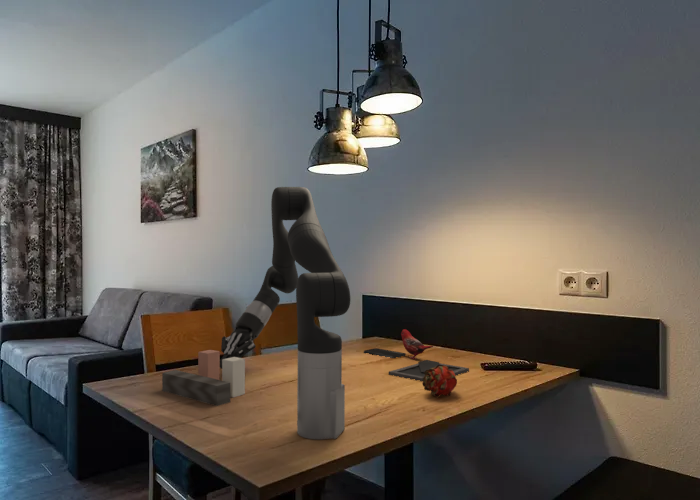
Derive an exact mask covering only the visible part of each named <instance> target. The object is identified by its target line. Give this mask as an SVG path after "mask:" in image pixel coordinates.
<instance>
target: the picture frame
mask: <svg viewBox="0 0 700 500" xmlns="http://www.w3.org/2000/svg"><path fill="white" fill-rule="evenodd" d="M436 366H447V367H448V368H449V369H451V370H452V371H454V373H455V375H457V376H459V375H458V374H460V375H462V374H461V373H463V374H464V372H465V373H468V372H470V368H469V367H465V366H464V367H463V366H457V365H453V364H445V363H441V362H439V361H433V360H431V359H424V360H421V361H418V362H417V363H416V364H411V365H407V366H404V367H400V368H397V369H393V370H389V371H388V375H389V376H393V375H394V376H393V377H397V376H399V378H402V377H404V378H403V379H407V378H410V379H409V380H412V379H415V380H414V381H417V380H420V381H419V382H422V381H423V377H424V376H425V374H424V372H425V371H426V370H429V369H430V368H434V367H436ZM467 371H468V372H467Z"/></svg>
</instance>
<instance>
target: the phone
mask: <svg viewBox="0 0 700 500" xmlns="http://www.w3.org/2000/svg"><path fill="white" fill-rule="evenodd" d="M366 353H369V354H368V355H371V354H374V356H377V355H379V356H378V357H382V356H385V357H384V358H387V357H390V358H389V359H397V358H396V357H398V358H400V357H401V356H403V357H406V356H405V355H406V354H407V353H406V352H399V351H394V350H388V349H383V348H378V347H377V348H375V347H374V348H371V349H365V350H363V354H366Z"/></svg>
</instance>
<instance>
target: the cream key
mask: <svg viewBox="0 0 700 500" xmlns="http://www.w3.org/2000/svg"><path fill="white" fill-rule="evenodd" d="M221 372H222V373H221V378H222V379H221V380H222V381H226V382H230V398H236V397H239V396H242V395H245V394H246V391H245V390H246V376H245V375H246V359H245V358H242V357H241V358H238V357H231V358H227V359H222V369H221Z"/></svg>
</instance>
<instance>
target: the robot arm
mask: <svg viewBox="0 0 700 500" xmlns="http://www.w3.org/2000/svg"><path fill="white" fill-rule="evenodd" d="M313 200H314V199H313V196H312V193H311V191H310V190H309V189H308V188H307V187H304V186H279V187H275V188H274V189H273V191H272V195H271V204H270V205H271V207H270V208H271V210H270V211H271V227H272V229H271V231H272V241H273V242H272V243H273V245H272V246H273V247H272V258H271V263H272V264H271V266H270V267H269V268H268V269H267V270H266V272H265V275H264V277H263V278H264V279H263V281H262V284H261V286H260V290H259V291H258V292H257V294H256V296H255V298H253V300H252V301H251V303H250V304H248V306H247V307H246V308H245V310H244V312H243V313H242V314H241V315H240V317H239V319H237V322H236V323H235V324H234V325H235V329H234V330H233V331H232V332H231V333H230V335H229V336H227V337H226V336H222V338H221V346H220V347H221V349H220V350H221V353H223V354H222V357H221V359H220V369H221V370H222V359H227V358H231V357H238V358H242V357H244V356H245V355H246V354H248V353H250V352H251V351H252V350H254V349H256V344H255V343H254V340H255V339H257V338H258V337H259V335H260V334H261V333H262V331H263V329H264V328H265V326H266V325H267V323H268V322H269V320H270V318H271V316H272V314H273V313H274V311H275V310H276V309H277V307H278V305H279V303H280V301H281V298H280V295H279V294H278V293H277V292H276V291H275V290H278V291H279V292H282V293H285V294H291V293H293V292H294V291H295V302H296V316H297V317H296V320H297V326H296V327H297V328H296V329H297V333H296V334H297V386H296V387H297V391H296V392H297V395H296V396H297V400H296V401H297V407H296V408H297V413H296V415H297V417H296V418H297V421H296V422H297V424H296V425H297V435H298V436H300V437H301V438H304V439H308V440H328V439H333V440H335V439H337V438H338V437H339V436H340V435H341V434H342V432H344V430H345V427H346V426H345V420H346V419H345V413H346V412H345V411H346V410H345V409H346V407H345V404H346V403H345V401H346V400H345V396H346V395H345V393H346V392H345V391H346V389H345V386H346V385H345V384H344V383H343V381H342V380H343V378H342V377H343V376H342V375H343V374H342V373H343V372H342V365H343V363H342V362H343V353H342V351H343V349H342V348H343V344H342V343H343V341H342V337H341V335H339V334H338V333H335V332H332V331H328V330H325V329H323V328H321V327H319V326H318V325H317V324H316V321H315V318H326V317H327V318H328V317H331V318H332V317H338V316H343V315H344V314H346V313H347V312H348V311H349V308H350V305H351V291H350V287H349V283H348V281H347V278H346V277H345V275H344V273H343V271H342V269H341V267H340V265H339V264H338V262H337V261H336V259H335V257H334V255H333V253H332V250H331V247H330V245H329V242H328V239H327V237H326V234H325V232H324V229H323V227H322V226H321V223H320V221H319V218H318V215H317V210H316V208H315V203H314V201H313ZM284 221H294V222H293V223H292V224H291V227H290V228H289V230H287V229H286V226H285V225H284ZM296 263H297V264H298V265H299V266H300V267H301V268H303V269H304V270H306V271H307V272H305V273H300V275H299V274H298V270H297V265H296ZM272 288H273V289H275V290H273V289H272Z"/></svg>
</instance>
